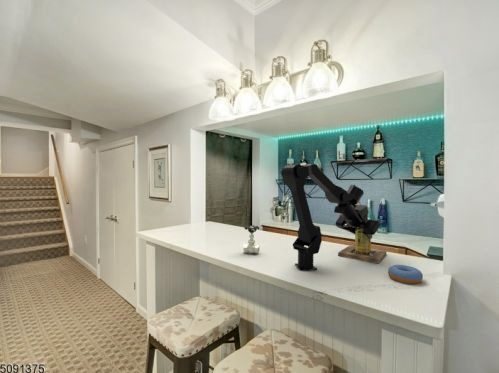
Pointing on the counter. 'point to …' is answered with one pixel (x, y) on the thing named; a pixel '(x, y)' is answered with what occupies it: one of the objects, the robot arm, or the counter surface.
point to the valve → (251, 241)
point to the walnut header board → (375, 258)
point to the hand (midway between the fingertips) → (364, 236)
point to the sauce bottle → (362, 240)
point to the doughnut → (405, 274)
